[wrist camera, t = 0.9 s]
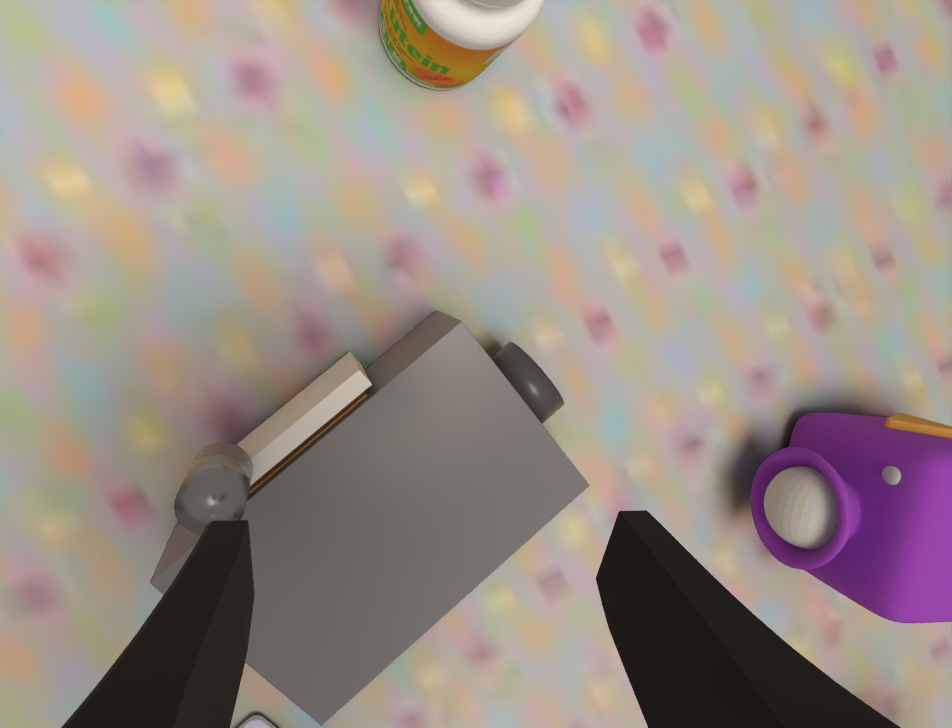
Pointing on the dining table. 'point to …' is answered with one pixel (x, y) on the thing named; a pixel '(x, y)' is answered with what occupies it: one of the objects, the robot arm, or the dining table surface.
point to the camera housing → (394, 511)
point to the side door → (263, 448)
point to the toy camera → (864, 510)
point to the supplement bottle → (451, 36)
